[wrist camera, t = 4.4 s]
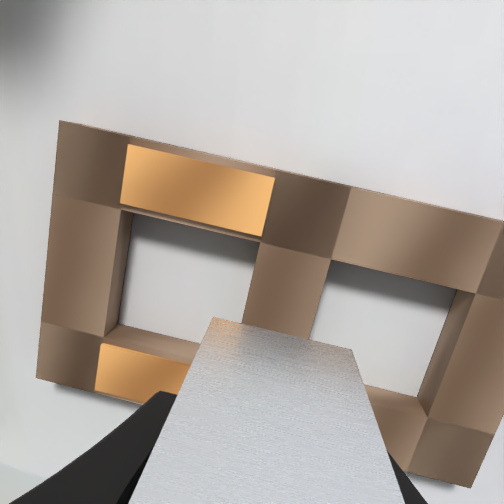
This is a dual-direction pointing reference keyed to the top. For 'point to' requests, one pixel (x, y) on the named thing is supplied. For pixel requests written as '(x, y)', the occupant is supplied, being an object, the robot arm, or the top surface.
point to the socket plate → (271, 281)
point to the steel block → (269, 427)
